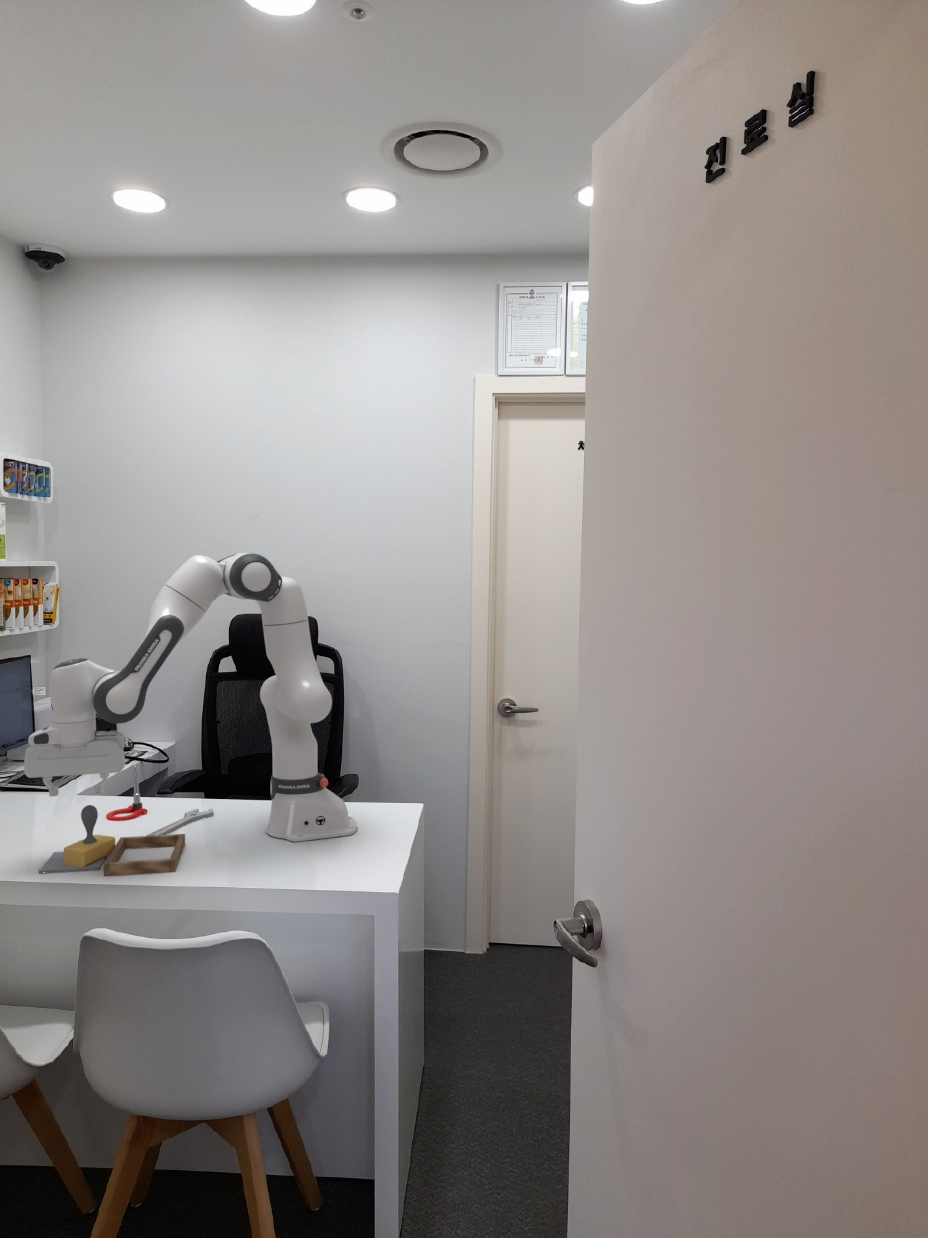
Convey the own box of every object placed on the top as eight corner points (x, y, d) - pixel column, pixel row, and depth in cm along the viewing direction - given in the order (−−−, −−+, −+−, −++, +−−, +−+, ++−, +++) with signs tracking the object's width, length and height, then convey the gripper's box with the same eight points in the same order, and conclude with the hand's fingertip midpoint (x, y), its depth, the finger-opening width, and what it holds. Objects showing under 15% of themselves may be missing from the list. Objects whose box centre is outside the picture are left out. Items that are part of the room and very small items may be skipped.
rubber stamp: (95, 849, 189) (94, 798, 189) (116, 852, 188) (115, 800, 187) (62, 864, 180) (61, 810, 179) (84, 867, 178) (83, 812, 177)
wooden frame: (185, 844, 196) (185, 833, 196) (175, 871, 178) (174, 860, 178) (120, 848, 193) (120, 837, 192) (103, 876, 175) (103, 864, 174)
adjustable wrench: (151, 845, 197) (151, 837, 196) (130, 841, 199) (129, 834, 199) (217, 815, 220) (217, 809, 220) (197, 813, 222) (197, 806, 222)
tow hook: (119, 824, 212) (150, 814, 219) (116, 775, 211) (147, 767, 218) (99, 819, 216) (130, 809, 224) (96, 771, 215) (127, 763, 223)
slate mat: (110, 851, 190) (110, 849, 190) (99, 870, 178) (99, 867, 178) (54, 854, 188) (54, 852, 187) (39, 873, 176) (39, 871, 176)
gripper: (127, 727, 187) (129, 787, 188) (29, 732, 182) (32, 793, 183) (121, 732, 180) (124, 794, 181) (20, 738, 176) (23, 801, 177)
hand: (77, 794), depth 182 cm, fingers open, 8 cm apart
